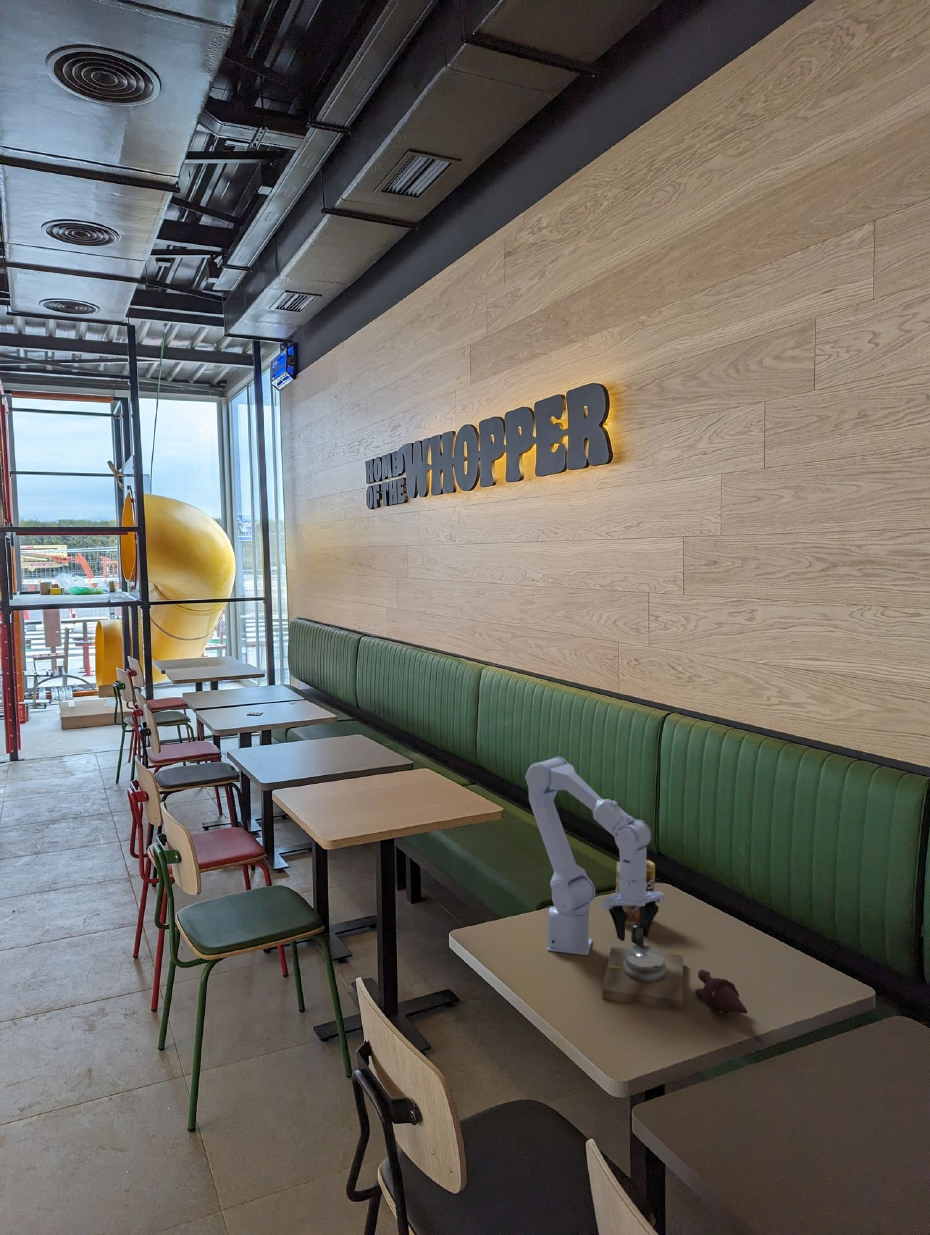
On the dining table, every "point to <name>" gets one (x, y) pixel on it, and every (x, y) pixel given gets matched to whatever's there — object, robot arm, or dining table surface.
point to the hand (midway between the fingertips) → (632, 937)
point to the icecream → (719, 995)
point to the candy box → (650, 882)
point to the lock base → (644, 982)
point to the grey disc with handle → (643, 953)
